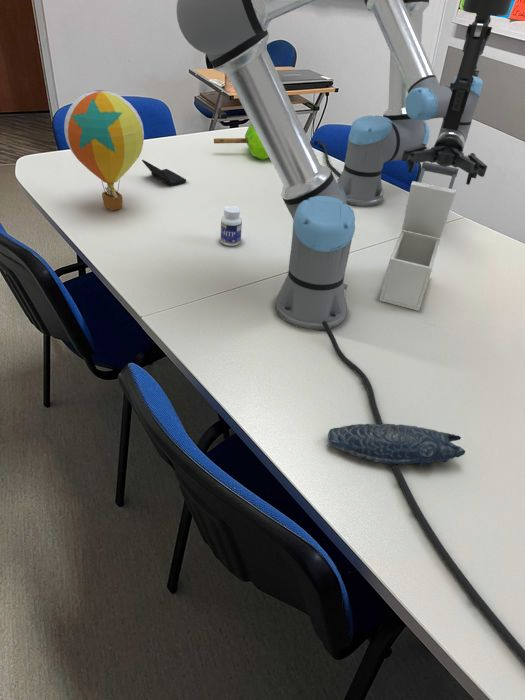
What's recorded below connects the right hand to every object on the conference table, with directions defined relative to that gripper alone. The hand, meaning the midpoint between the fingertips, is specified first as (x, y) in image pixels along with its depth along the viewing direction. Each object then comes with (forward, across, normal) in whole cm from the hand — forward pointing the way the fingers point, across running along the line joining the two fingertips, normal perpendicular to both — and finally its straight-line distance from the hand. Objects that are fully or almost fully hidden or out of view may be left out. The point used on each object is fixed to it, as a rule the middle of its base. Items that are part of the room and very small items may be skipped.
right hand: (439, 172), depth 122 cm
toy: (+14, +82, -22) cm, 87 cm away
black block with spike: (-12, +81, -22) cm, 85 cm away
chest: (+18, 0, -22) cm, 29 cm away
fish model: (+69, -6, -22) cm, 73 cm away
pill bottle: (+16, +46, -22) cm, 53 cm away
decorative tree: (-50, +66, -22) cm, 85 cm away
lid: (+15, 0, -4) cm, 15 cm away
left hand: (+17, 0, +16) cm, 23 cm away
